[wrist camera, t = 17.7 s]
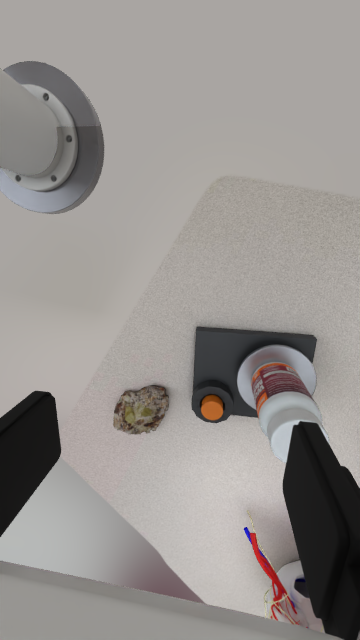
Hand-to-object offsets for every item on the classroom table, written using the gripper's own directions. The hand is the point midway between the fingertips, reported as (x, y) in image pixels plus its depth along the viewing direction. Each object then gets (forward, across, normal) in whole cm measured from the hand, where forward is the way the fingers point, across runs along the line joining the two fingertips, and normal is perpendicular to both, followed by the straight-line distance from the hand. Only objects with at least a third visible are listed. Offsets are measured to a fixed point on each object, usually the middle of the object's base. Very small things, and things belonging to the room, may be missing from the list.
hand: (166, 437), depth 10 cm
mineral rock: (+28, +9, +19) cm, 35 cm away
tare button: (+25, -2, +15) cm, 29 cm away
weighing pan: (+25, -10, +10) cm, 29 cm away
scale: (+28, -7, +11) cm, 31 cm away
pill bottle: (+24, -10, +10) cm, 28 cm away
